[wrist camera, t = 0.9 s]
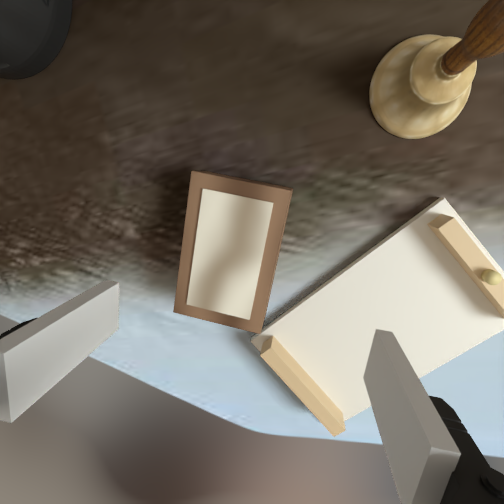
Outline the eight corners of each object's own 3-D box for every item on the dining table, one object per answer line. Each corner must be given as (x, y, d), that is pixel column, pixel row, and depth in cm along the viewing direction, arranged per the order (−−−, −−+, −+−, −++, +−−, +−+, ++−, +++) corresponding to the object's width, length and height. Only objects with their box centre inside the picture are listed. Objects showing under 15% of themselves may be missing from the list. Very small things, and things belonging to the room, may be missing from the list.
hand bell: (368, 143, 29) (440, 108, 14) (369, 43, 27) (454, -125, 12) (466, 134, 28) (666, 85, 12) (474, 28, 26) (723, -184, 11)
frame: (190, 293, 36) (172, 313, 31) (208, 171, 32) (190, 170, 27) (266, 312, 35) (260, 335, 30) (293, 188, 31) (291, 190, 26)
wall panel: (251, 336, 36) (245, 357, 32) (440, 197, 29) (462, 201, 25) (329, 422, 37) (333, 453, 33) (528, 307, 30) (563, 328, 26)
